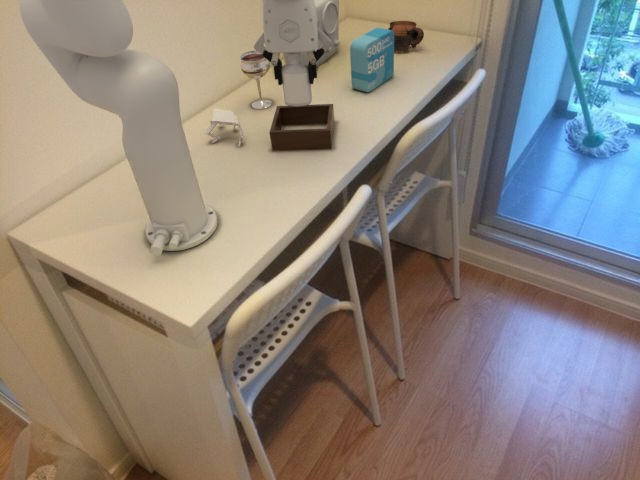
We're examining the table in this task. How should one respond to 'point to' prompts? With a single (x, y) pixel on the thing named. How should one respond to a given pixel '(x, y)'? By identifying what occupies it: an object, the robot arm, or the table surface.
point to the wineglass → (256, 73)
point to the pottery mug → (405, 35)
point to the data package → (372, 59)
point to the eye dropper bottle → (296, 82)
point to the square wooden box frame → (302, 137)
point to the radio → (325, 28)
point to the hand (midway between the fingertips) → (296, 81)
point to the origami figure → (224, 122)
